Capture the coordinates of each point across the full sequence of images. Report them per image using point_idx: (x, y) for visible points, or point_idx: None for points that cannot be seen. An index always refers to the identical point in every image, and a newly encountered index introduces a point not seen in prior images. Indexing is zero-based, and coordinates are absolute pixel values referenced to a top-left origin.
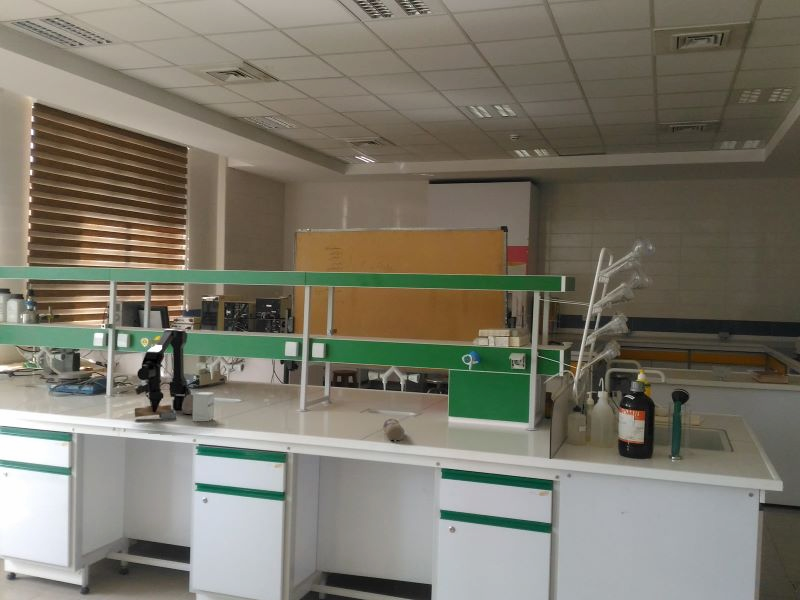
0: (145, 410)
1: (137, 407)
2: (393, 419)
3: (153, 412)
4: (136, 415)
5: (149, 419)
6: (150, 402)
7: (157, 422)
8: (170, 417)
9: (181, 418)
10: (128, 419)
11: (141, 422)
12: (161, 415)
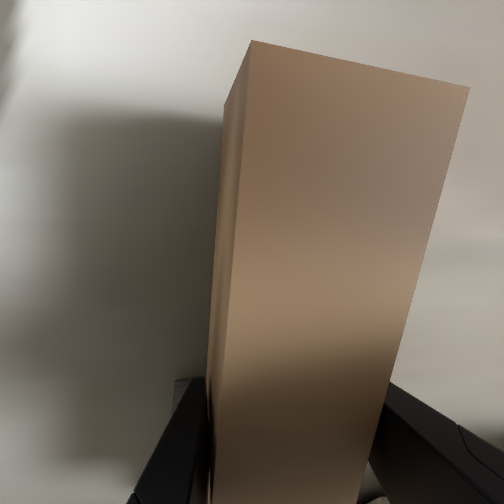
0: (221, 291)
1: (346, 143)
2: None
3: (210, 374)
4: (224, 125)
5: None
6: (438, 458)
7: (19, 356)
8: None
9: None
10: (314, 27)
11: (35, 184)
12: None
